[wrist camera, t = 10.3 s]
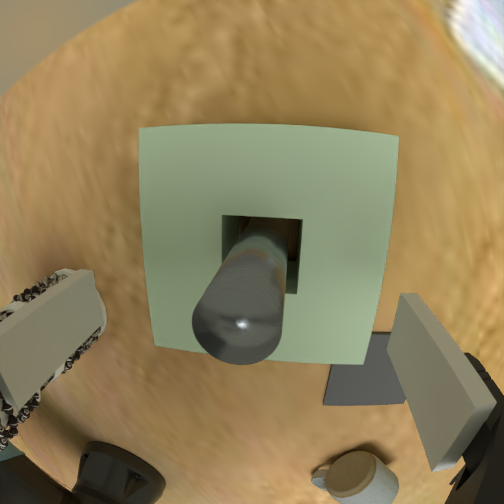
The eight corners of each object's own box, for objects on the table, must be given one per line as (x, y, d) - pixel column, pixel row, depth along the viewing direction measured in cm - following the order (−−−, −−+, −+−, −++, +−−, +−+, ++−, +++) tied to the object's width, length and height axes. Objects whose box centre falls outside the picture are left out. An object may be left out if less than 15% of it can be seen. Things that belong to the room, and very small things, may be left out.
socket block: (180, 308, 27) (154, 345, 21) (174, 132, 22) (138, 128, 17) (351, 321, 25) (363, 364, 20) (372, 139, 21) (398, 135, 15)
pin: (247, 249, 24) (194, 358, 11) (247, 208, 23) (188, 283, 10) (287, 251, 24) (278, 368, 11) (290, 211, 23) (285, 291, 10)
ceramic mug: (371, 437, 30) (379, 489, 23) (395, 461, 31) (403, 505, 24) (298, 466, 33) (295, 513, 26) (329, 486, 34) (328, 528, 27)
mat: (322, 402, 29) (322, 405, 28) (338, 331, 26) (338, 333, 25) (402, 401, 28) (403, 403, 27) (428, 332, 25) (430, 334, 24)
